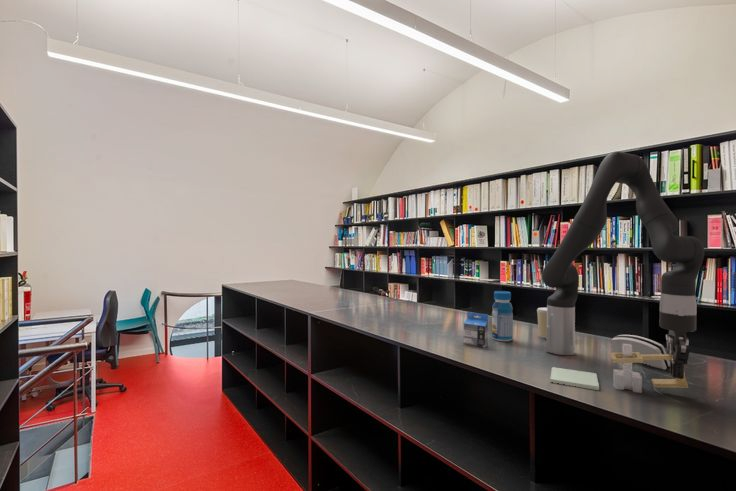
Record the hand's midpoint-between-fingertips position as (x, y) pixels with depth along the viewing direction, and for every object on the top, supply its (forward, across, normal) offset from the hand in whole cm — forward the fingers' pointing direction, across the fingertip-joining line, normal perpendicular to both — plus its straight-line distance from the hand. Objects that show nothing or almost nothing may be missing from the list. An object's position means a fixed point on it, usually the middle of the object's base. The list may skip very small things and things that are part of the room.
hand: (676, 376), depth 98 cm
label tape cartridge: (+6, -25, -58) cm, 63 cm away
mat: (+5, 0, -24) cm, 24 cm away
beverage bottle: (+6, -39, -50) cm, 63 cm away
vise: (+5, -3, -11) cm, 12 cm away
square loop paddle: (+3, 0, -6) cm, 7 cm away
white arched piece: (+6, -30, -4) cm, 31 cm away
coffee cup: (+6, -54, -33) cm, 63 cm away
